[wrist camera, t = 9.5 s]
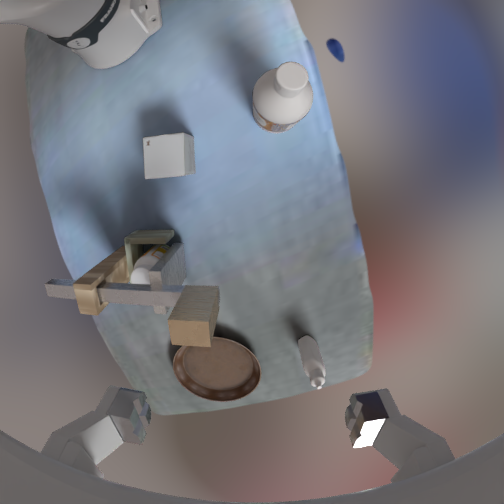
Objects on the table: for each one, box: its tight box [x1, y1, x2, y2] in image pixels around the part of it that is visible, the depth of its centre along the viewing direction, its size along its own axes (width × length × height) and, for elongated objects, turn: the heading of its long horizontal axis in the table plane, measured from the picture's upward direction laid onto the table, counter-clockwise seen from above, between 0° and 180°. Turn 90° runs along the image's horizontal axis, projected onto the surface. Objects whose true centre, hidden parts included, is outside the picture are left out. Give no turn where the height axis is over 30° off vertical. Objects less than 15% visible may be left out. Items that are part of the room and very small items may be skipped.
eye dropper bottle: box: [298, 335, 326, 389], centre depth 47 cm, size 4×6×12 cm
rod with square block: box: [45, 243, 220, 347], centre depth 36 cm, size 6×26×21 cm, turn 90°
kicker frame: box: [73, 230, 174, 315], centre depth 39 cm, size 10×10×17 cm
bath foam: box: [253, 62, 313, 133], centre depth 30 cm, size 7×7×20 cm
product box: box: [143, 133, 196, 179], centre depth 38 cm, size 6×6×7 cm
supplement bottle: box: [131, 244, 170, 284], centre depth 43 cm, size 5×5×10 cm
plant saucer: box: [173, 336, 261, 402], centre depth 53 cm, size 18×18×3 cm
